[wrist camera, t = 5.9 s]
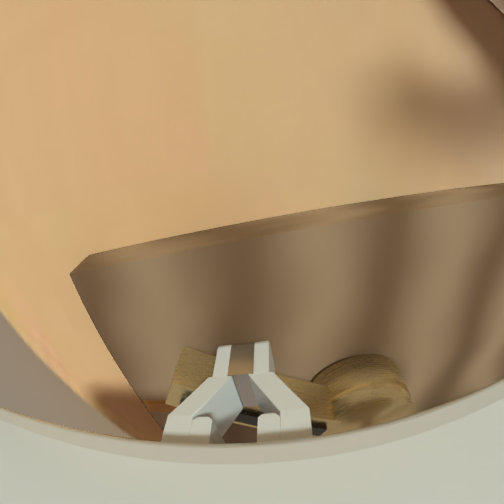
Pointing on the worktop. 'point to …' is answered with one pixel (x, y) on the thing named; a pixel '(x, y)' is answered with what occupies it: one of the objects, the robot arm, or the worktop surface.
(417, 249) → the levelling base
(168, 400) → the brass knob
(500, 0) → the kettle
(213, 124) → the worktop surface
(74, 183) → the worktop surface
